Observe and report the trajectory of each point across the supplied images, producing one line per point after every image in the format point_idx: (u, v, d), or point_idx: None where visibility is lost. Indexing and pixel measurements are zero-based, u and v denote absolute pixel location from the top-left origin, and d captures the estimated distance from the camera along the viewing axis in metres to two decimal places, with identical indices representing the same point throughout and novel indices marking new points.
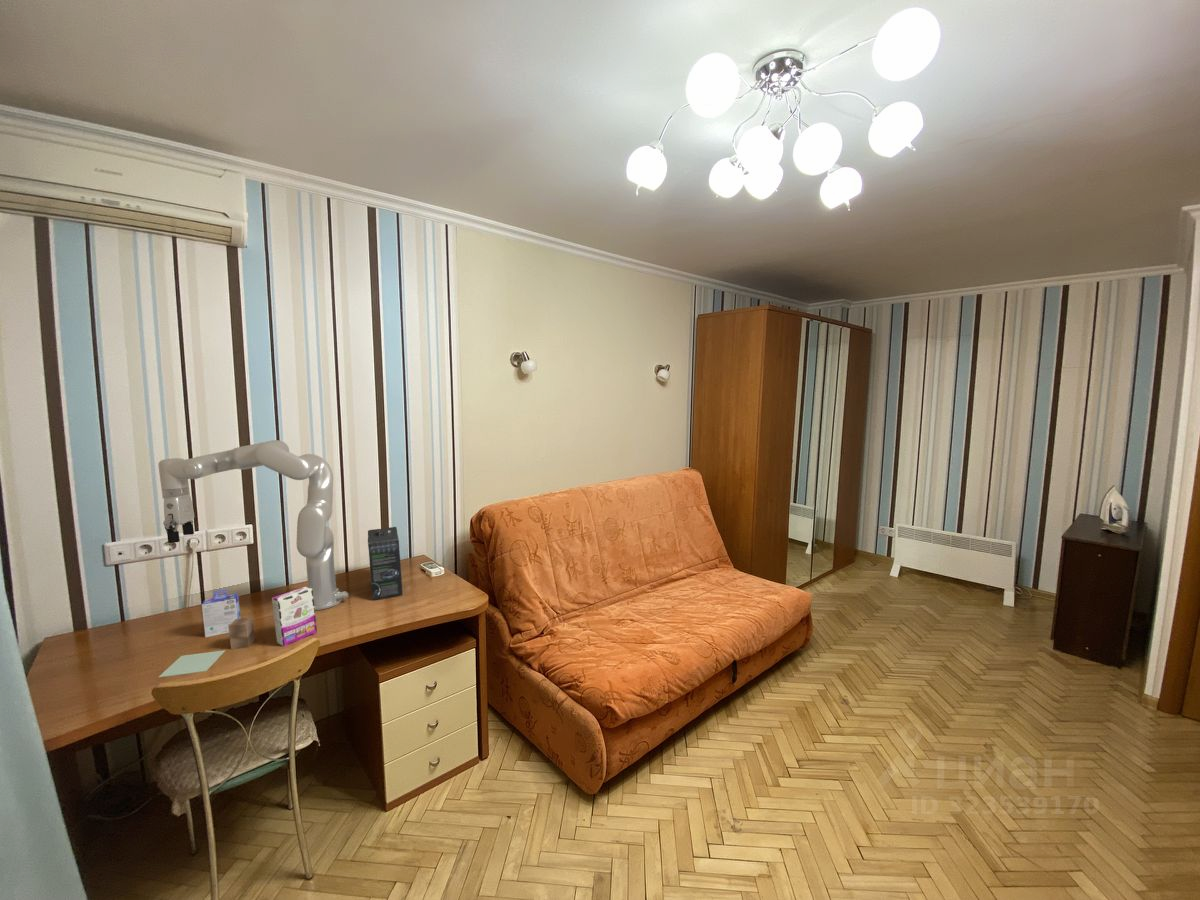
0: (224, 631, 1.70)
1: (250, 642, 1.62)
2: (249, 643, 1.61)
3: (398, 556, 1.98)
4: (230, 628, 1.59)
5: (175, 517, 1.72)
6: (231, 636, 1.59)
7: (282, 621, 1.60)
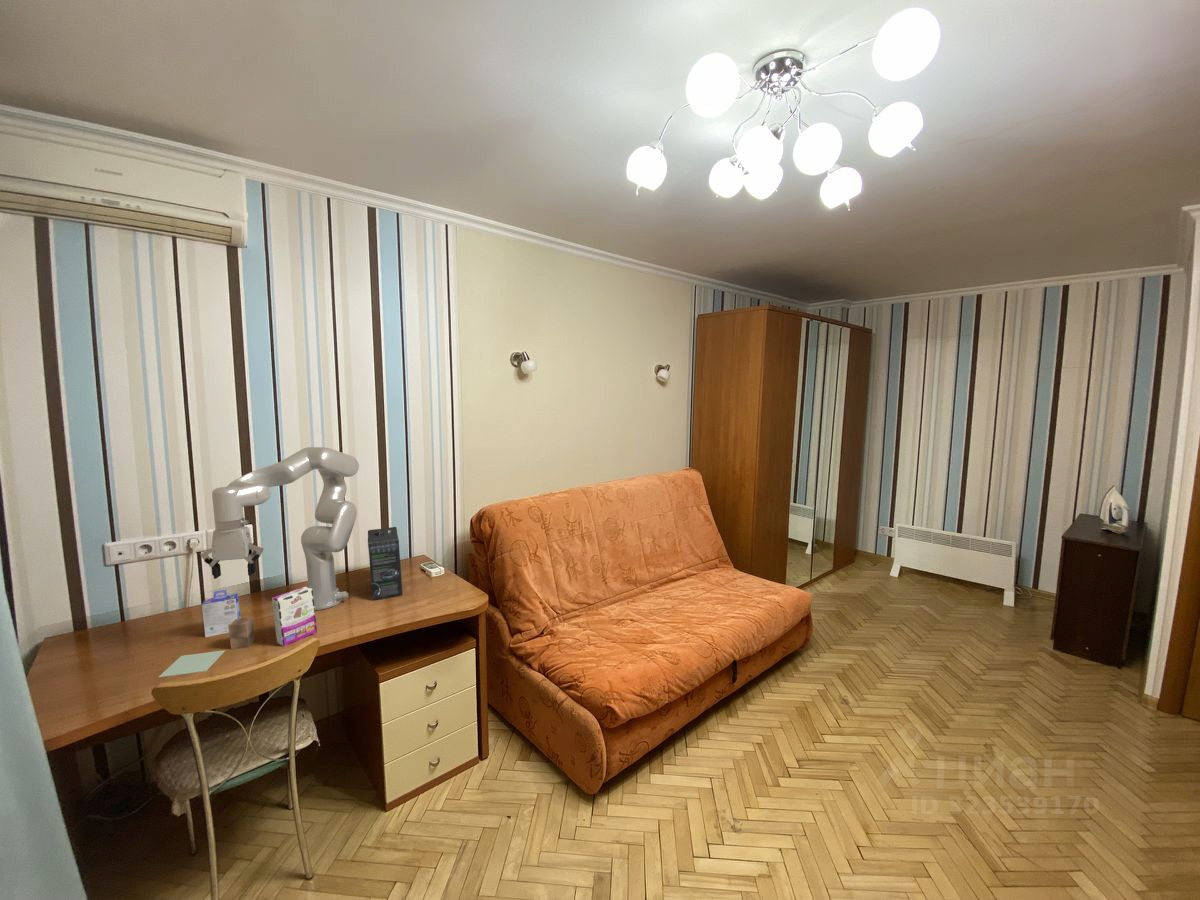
0: (224, 631, 1.70)
1: (250, 642, 1.62)
2: (249, 643, 1.61)
3: (398, 556, 1.98)
4: (230, 628, 1.59)
5: None
6: (231, 636, 1.59)
7: (282, 621, 1.60)
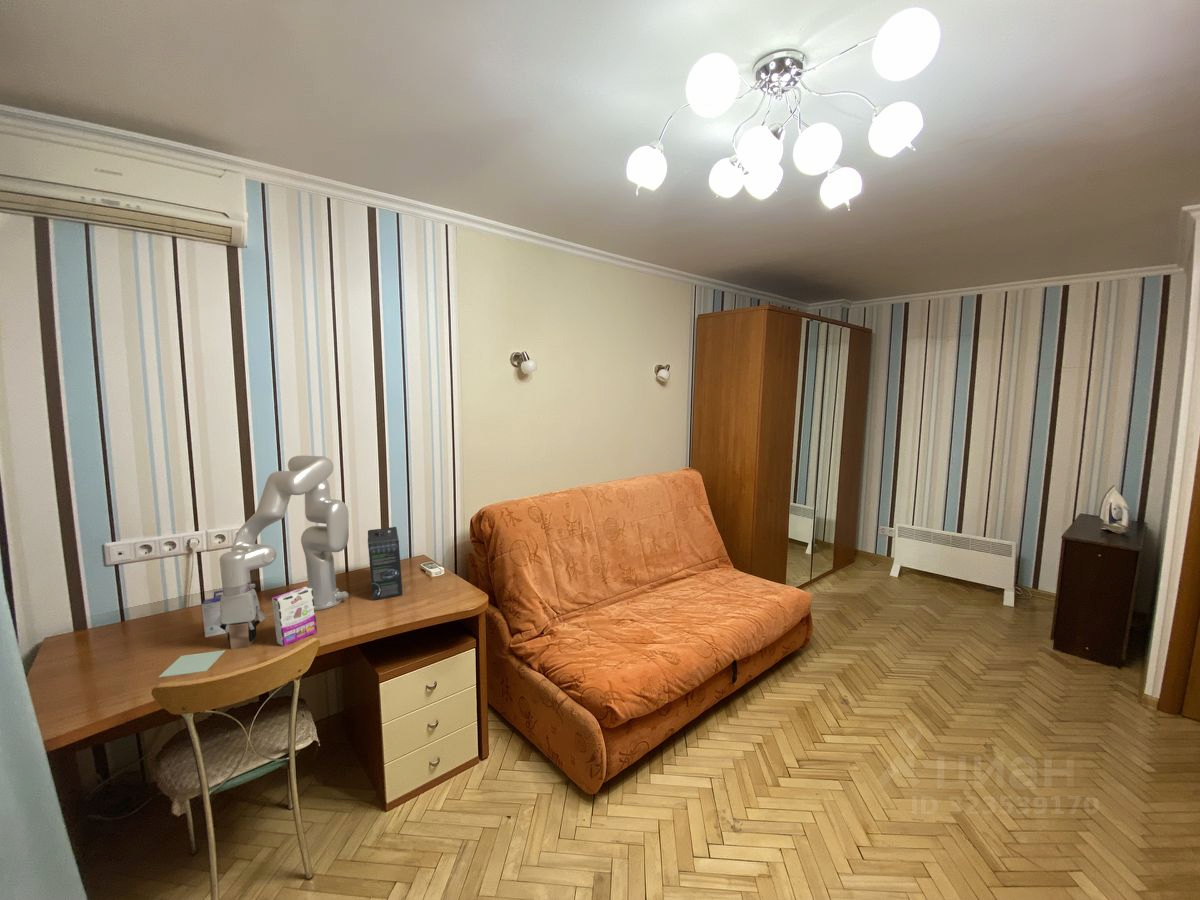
0: (224, 631, 1.70)
1: (250, 642, 1.62)
2: (249, 643, 1.61)
3: (398, 556, 1.98)
4: (230, 628, 1.59)
5: (258, 608, 1.64)
6: (231, 636, 1.59)
7: (282, 621, 1.60)
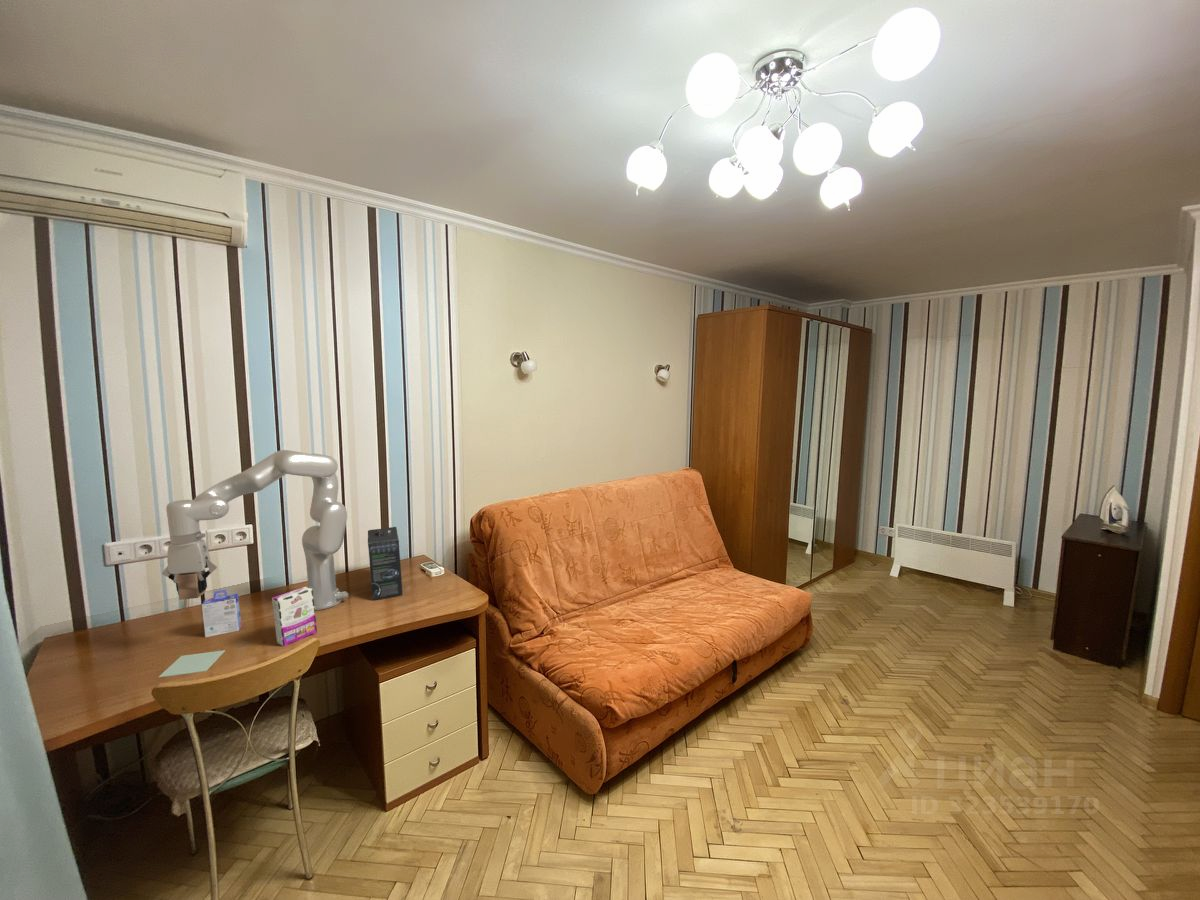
0: (224, 631, 1.70)
1: (200, 593, 1.59)
2: (198, 594, 1.58)
3: (398, 556, 1.98)
4: (178, 578, 1.56)
5: (209, 559, 1.60)
6: (179, 586, 1.56)
7: (282, 621, 1.60)
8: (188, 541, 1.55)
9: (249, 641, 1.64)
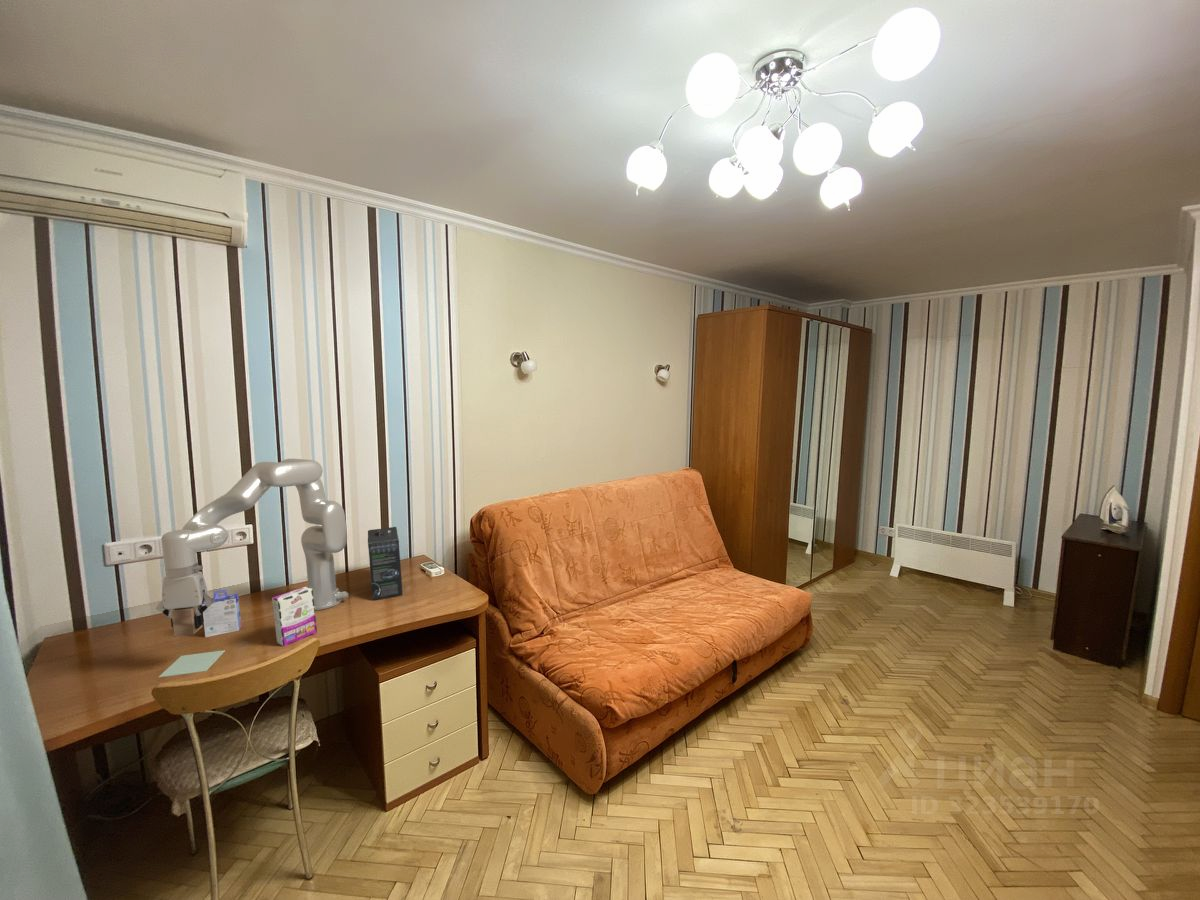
0: (224, 631, 1.70)
1: (196, 629, 1.49)
2: (195, 630, 1.49)
3: (398, 556, 1.98)
4: (173, 614, 1.46)
5: (206, 593, 1.51)
6: (174, 622, 1.46)
7: (282, 621, 1.60)
8: (184, 574, 1.45)
9: (249, 641, 1.64)
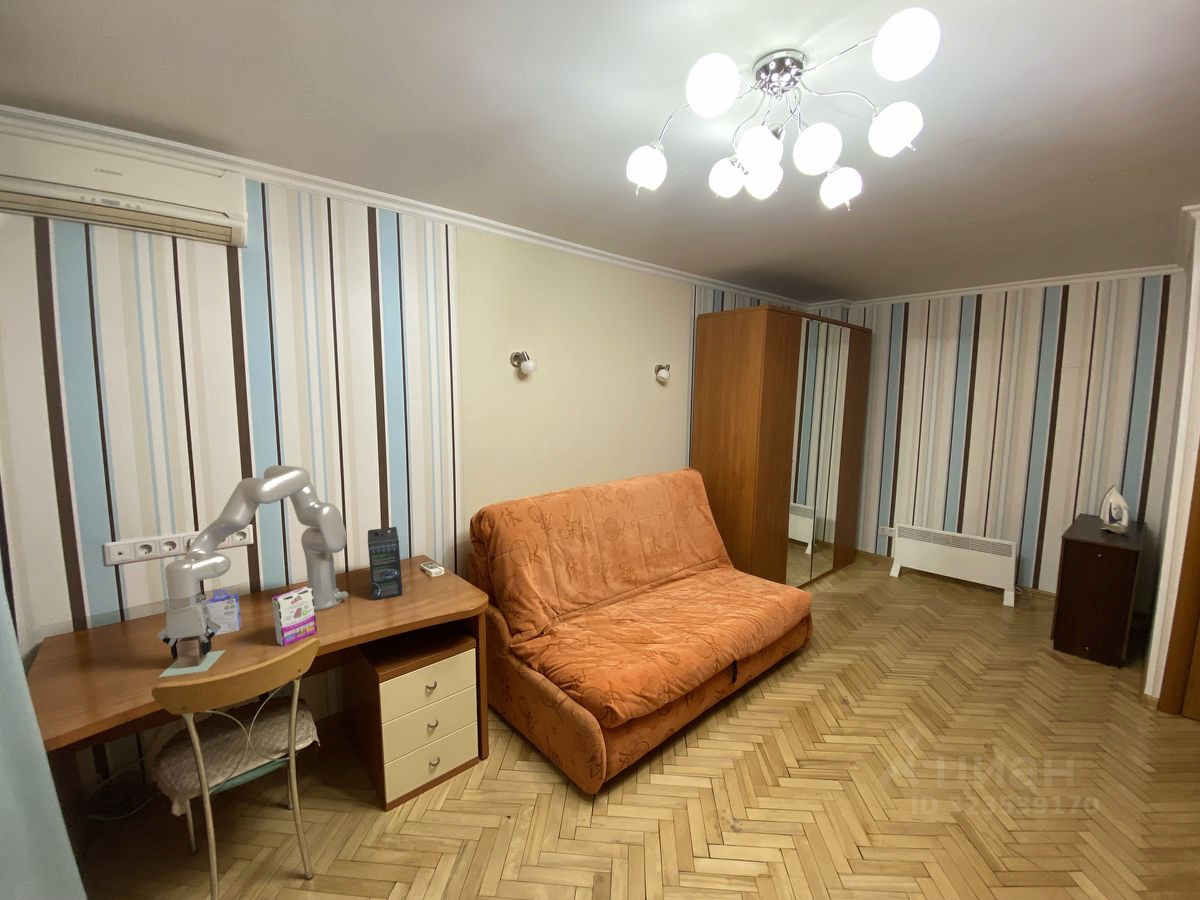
0: (224, 631, 1.70)
1: (201, 661, 1.51)
2: (199, 662, 1.50)
3: (398, 556, 1.98)
4: (178, 646, 1.47)
5: None
6: (179, 654, 1.48)
7: (282, 621, 1.60)
8: (188, 604, 1.46)
9: (249, 641, 1.64)
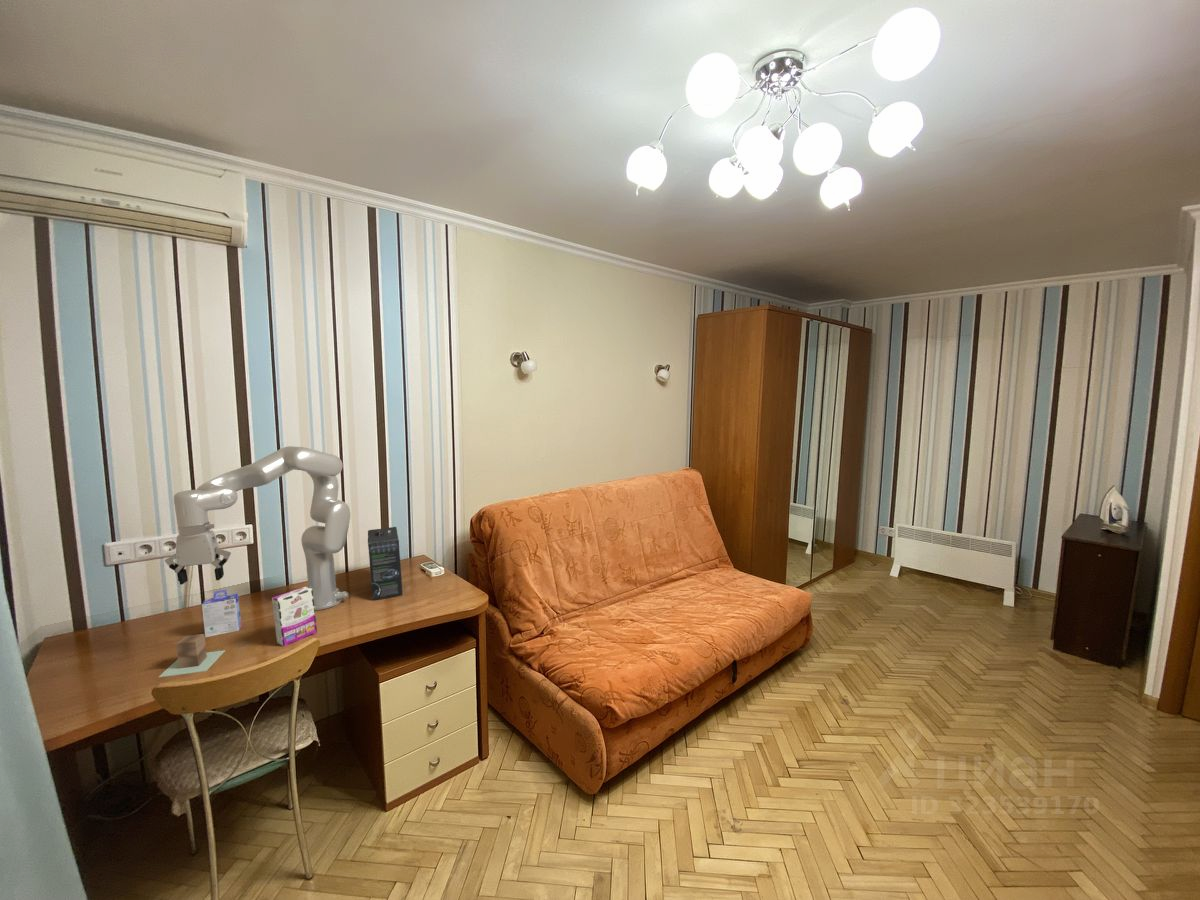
0: (224, 631, 1.70)
1: (201, 661, 1.51)
2: (199, 662, 1.50)
3: (398, 556, 1.98)
4: (178, 646, 1.47)
5: None
6: (179, 654, 1.48)
7: (282, 621, 1.60)
8: (197, 532, 1.51)
9: (249, 641, 1.64)
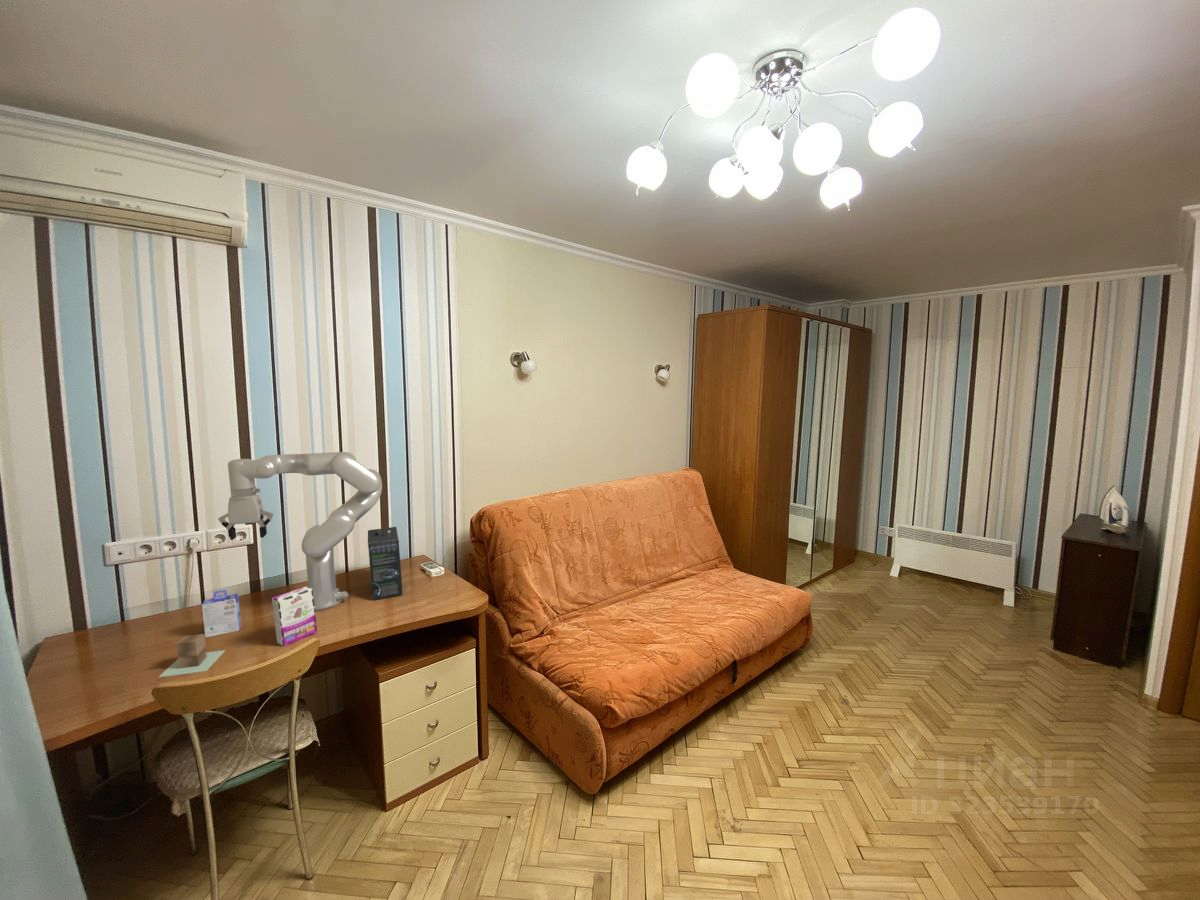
0: (224, 631, 1.70)
1: (201, 661, 1.51)
2: (199, 662, 1.50)
3: (398, 556, 1.98)
4: (178, 646, 1.47)
5: None
6: (179, 654, 1.48)
7: (282, 621, 1.60)
8: (246, 494, 1.76)
9: (249, 641, 1.64)
